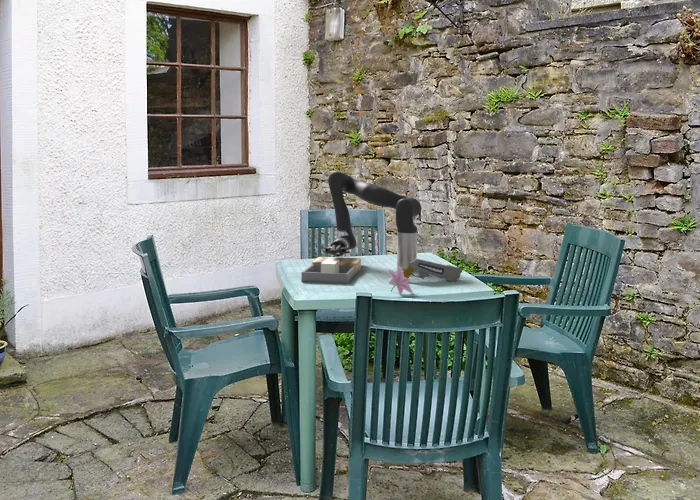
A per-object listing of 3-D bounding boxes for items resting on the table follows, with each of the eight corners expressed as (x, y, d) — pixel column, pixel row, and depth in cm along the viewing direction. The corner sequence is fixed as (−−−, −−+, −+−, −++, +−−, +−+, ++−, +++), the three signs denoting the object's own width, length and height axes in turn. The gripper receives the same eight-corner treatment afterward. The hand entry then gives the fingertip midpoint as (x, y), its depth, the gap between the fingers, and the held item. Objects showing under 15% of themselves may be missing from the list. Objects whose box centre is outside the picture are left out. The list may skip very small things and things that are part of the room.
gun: (450, 301, 325) (464, 269, 324) (399, 281, 319) (413, 248, 318) (448, 299, 328) (462, 268, 327) (397, 279, 323) (411, 247, 322)
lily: (383, 298, 292) (394, 278, 288) (376, 281, 302) (386, 262, 298) (409, 305, 297) (420, 286, 293) (401, 289, 307) (412, 270, 303)
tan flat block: (360, 268, 353) (361, 258, 352) (355, 274, 337) (355, 263, 336) (319, 267, 356) (319, 256, 355) (312, 272, 340) (312, 261, 340)
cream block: (339, 259, 335) (334, 264, 323) (339, 273, 336) (334, 277, 324) (326, 259, 336) (320, 263, 324) (326, 272, 337) (320, 277, 325)
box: (355, 274, 337) (355, 265, 336) (347, 283, 316) (348, 274, 315) (311, 272, 340) (312, 264, 339) (301, 281, 319) (301, 272, 318)
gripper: (325, 238, 352) (318, 243, 335) (353, 239, 350) (347, 244, 333) (325, 254, 353) (318, 260, 336) (353, 255, 351) (347, 261, 334)
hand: (332, 252), depth 335 cm, fingers closed
